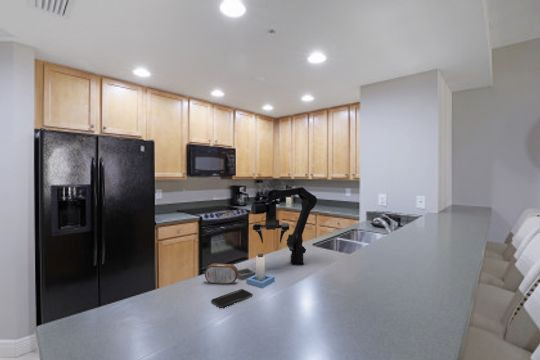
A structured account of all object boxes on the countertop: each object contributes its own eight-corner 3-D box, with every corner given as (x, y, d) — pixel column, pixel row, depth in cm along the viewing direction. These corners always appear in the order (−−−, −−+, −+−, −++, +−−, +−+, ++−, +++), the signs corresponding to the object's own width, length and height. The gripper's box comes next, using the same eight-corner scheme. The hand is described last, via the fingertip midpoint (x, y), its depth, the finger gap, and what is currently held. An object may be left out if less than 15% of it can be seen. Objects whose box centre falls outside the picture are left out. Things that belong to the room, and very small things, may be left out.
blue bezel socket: (259, 277, 122) (259, 273, 122) (274, 281, 117) (274, 276, 117) (246, 283, 115) (246, 278, 115) (262, 288, 109) (262, 283, 109)
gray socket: (247, 272, 129) (247, 268, 129) (255, 276, 123) (255, 272, 123) (234, 275, 125) (233, 271, 125) (241, 280, 119) (241, 275, 119)
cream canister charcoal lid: (263, 280, 118) (263, 252, 118) (266, 283, 114) (265, 255, 115) (255, 281, 117) (254, 253, 117) (257, 284, 113) (257, 256, 113)
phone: (209, 300, 97) (242, 288, 107) (209, 303, 97) (242, 291, 107) (221, 307, 91) (254, 294, 102) (221, 310, 91) (254, 297, 102)
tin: (238, 282, 116) (238, 263, 116) (237, 285, 113) (237, 265, 113) (206, 281, 118) (206, 262, 118) (203, 284, 115) (203, 265, 115)
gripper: (251, 215, 127) (252, 247, 127) (289, 215, 127) (289, 246, 127) (253, 212, 139) (254, 241, 138) (288, 212, 138) (289, 241, 138)
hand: (271, 243), depth 135 cm, fingers open, 9 cm apart
